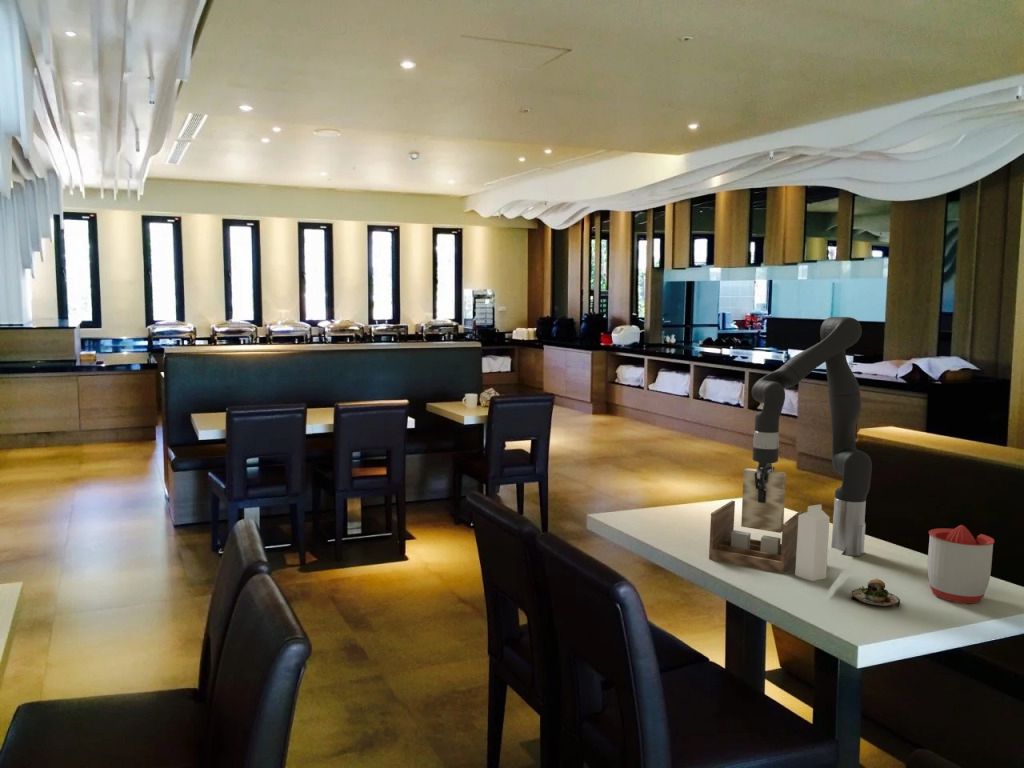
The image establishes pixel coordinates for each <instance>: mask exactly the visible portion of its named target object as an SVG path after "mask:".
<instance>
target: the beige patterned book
mask: <svg viewBox="0 0 1024 768" xmlns="http://www.w3.org/2000/svg"><path fill="white" fill-rule="evenodd" d="M756 471H757V468H751V467H750V468H749V467H746V468H744V469H743V475H742V476H743V480H742V500H741V501H742V502H741V504H742V505H741V523H740V524H741V525H740V526H741V528H747V529H753V530H760V531H767V532H772V533H779V534H782V528H783V524H784V523H785V521H784V520H785V502H786V501H785V499H786V479H787V472H783V471H776V470H774V471H772V472H770V474H769V482H768V483H767V490H766V502H765V503H759V502H758V490H757V489H756V484H755V475H754V474H755V472H756ZM764 481H766V480H764ZM760 486H762V484H760Z"/></svg>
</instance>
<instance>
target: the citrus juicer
mask: <svg viewBox="0 0 1024 768" xmlns="http://www.w3.org/2000/svg"><path fill="white" fill-rule="evenodd" d="M928 534H929V542H928V553H927V576H928V580H929V581H928V582H929V586H930V589H931V591H932V593H933V595H935V597H936V598H940V599H944V600H946V601H949V602H950V601H951V602H956V603H961V604H963V603H965V604H964V605H970V604H977V603H979V602H981V601H982V599H983V598H984V596H985V594H986V591H987V589H988V587H989V583H990V579H991V572H992V562H993V551H994V549H993V548H994V544H995V539H994V538H993V537H991V536H988V535H986V534H982V533H980V534H978V535H977V536H976V538H975V537H974V536H973V534H972V532H970V530H969V529H968V528H967V527H966V526H965V525H963V524H960V525H958V526H956V527H955V528H941V527H940V528H934V529H933V528H932V529H930V530H928Z"/></svg>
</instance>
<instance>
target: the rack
mask: <svg viewBox="0 0 1024 768" xmlns="http://www.w3.org/2000/svg"><path fill="white" fill-rule="evenodd" d="M735 507H736V500H731V501H729V502H727V503H725V504H724V505H722V506H720V507H718V508H717V509H716V510H714V511H712V512H711V513H710V528H709V548H708V551H709V552H708V560H713V561H718V562H723V563H729V564H733V565H739V566H744V567H748V568H753V569H759V570H763V571H769V572H775V573H778V574H779V573H780V574H785V573H786V572H787V570H789V568H790V567H791V566H792V565H793V564H794V563H796V552H797V535H798V518H799V515H801V514H803V513H804V511H802V510H799V511H798V512H797V513H795V514H794V515H793V516H791V517H790V518H789V519H788V520H786V521H784V524H783V528H782V532H781V534H782V535H781V543H780V555H777V554H771V553H766V552H760V548H761V539H754V538H750V550H749V549H744V548H738V547H733V546H731V532H733V531H734V530H735V529H734V528H735V512H736V511H735V509H736V508H735Z"/></svg>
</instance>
